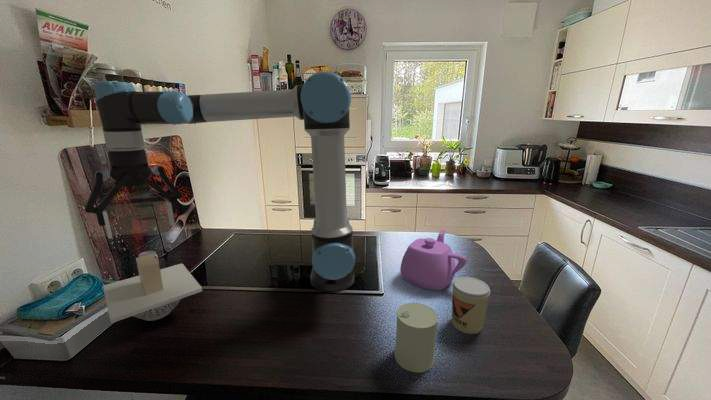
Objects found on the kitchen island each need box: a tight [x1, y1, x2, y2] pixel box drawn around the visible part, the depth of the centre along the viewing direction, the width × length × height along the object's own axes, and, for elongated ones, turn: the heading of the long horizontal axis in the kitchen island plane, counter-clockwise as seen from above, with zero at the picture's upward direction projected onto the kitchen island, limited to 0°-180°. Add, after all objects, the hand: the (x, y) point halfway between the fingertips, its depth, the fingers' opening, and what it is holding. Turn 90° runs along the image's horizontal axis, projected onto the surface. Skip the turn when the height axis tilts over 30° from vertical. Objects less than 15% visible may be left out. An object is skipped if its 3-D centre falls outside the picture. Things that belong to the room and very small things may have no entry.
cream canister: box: [451, 276, 491, 335], centre depth 80 cm, size 9×9×12 cm
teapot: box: [399, 230, 467, 291], centre depth 103 cm, size 23×21×15 cm
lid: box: [102, 254, 203, 324], centre depth 82 cm, size 20×20×9 cm
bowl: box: [132, 299, 182, 322], centre depth 84 cm, size 16×16×8 cm
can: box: [394, 302, 439, 374], centre depth 68 cm, size 9×9×12 cm
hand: (143, 230), depth 79 cm, fingers open, 13 cm apart
